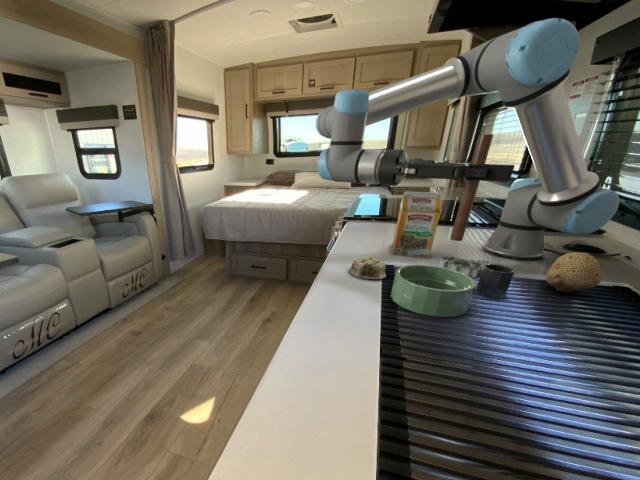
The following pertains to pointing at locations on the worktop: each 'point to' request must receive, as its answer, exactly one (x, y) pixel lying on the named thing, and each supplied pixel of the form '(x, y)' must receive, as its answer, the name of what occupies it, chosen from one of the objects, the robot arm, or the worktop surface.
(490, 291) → the utensil cup
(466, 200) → the stick
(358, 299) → the worktop surface
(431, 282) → the bowl
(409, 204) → the yellow food carton
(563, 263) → the natural sponge
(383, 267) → the cake
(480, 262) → the egg carton
